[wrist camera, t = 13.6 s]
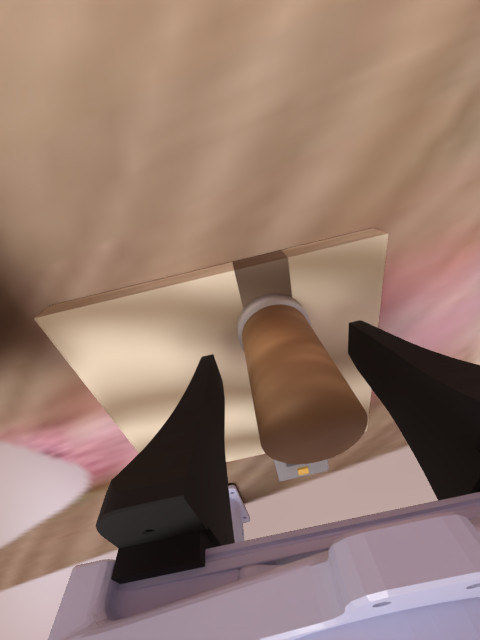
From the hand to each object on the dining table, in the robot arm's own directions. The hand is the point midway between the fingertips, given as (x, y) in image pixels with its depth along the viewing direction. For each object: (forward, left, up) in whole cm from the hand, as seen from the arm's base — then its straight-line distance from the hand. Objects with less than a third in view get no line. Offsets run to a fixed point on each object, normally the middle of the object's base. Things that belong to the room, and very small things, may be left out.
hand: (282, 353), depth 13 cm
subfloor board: (-5, +3, -4) cm, 7 cm away
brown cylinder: (0, 0, -3) cm, 3 cm away
